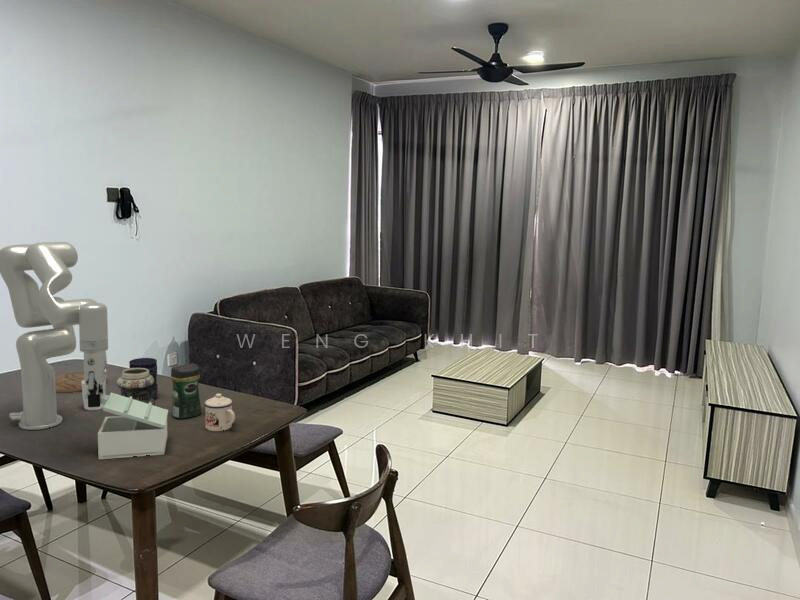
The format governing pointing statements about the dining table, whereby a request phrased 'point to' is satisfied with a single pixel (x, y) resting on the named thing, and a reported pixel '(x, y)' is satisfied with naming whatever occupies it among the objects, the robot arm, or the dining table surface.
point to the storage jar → (152, 367)
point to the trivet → (69, 382)
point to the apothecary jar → (136, 384)
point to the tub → (130, 438)
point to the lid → (133, 409)
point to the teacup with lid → (218, 413)
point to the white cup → (84, 391)
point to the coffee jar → (185, 391)
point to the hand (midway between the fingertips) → (95, 403)
